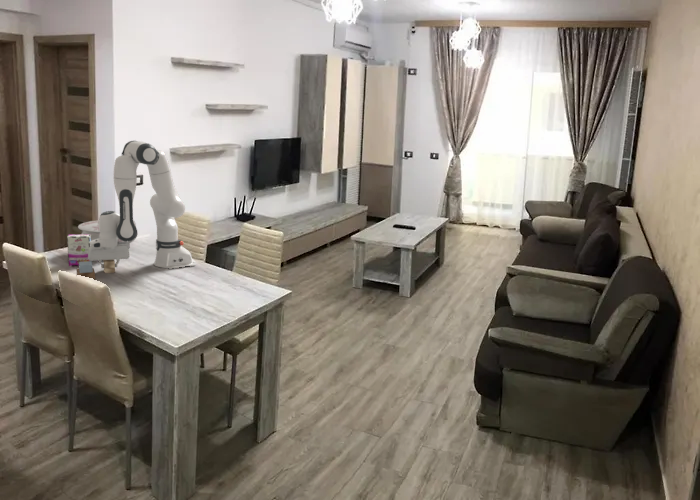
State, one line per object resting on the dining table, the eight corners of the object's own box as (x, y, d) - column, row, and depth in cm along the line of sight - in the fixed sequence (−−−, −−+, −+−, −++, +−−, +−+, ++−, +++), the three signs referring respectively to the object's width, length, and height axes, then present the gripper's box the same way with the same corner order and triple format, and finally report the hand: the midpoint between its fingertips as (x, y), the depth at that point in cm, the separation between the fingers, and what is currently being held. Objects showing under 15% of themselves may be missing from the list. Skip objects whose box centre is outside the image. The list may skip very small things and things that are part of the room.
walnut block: (93, 275, 313) (93, 267, 312) (95, 280, 307) (94, 272, 306) (76, 276, 310) (76, 268, 309) (77, 281, 303) (77, 273, 302)
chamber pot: (67, 256, 339) (66, 220, 334) (101, 245, 365) (99, 211, 359) (110, 264, 332) (109, 227, 327) (141, 252, 357) (140, 218, 352)
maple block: (113, 269, 323) (113, 258, 322) (115, 272, 319) (114, 261, 318) (103, 270, 321) (103, 259, 320) (104, 273, 317) (104, 262, 315)
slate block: (92, 268, 311) (91, 261, 310) (92, 272, 306) (92, 264, 304) (79, 269, 308) (78, 261, 307) (79, 273, 303) (79, 265, 302)
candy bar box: (92, 263, 331) (91, 234, 326) (90, 266, 326) (89, 236, 322) (69, 263, 328) (68, 234, 323) (68, 266, 323) (66, 236, 319)
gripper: (128, 239, 323) (129, 264, 327) (87, 241, 314) (88, 267, 318) (130, 242, 318) (131, 267, 322) (88, 244, 309) (89, 270, 312)
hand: (109, 267), depth 320 cm, fingers closed on maple block, 5 cm apart
